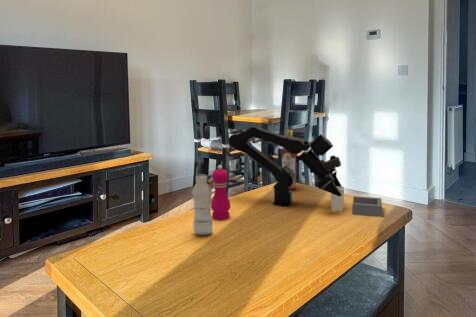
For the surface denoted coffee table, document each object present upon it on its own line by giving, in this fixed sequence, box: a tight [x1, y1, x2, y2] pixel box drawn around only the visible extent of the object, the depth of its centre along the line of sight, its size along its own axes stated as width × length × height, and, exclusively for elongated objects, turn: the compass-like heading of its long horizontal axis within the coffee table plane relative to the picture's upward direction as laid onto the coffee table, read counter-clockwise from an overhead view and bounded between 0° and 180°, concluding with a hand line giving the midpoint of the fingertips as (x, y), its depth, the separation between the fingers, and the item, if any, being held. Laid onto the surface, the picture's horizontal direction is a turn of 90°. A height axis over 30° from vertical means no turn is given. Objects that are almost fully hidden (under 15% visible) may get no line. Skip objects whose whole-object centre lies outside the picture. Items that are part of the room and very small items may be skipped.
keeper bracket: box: [351, 195, 383, 217], centre depth 152 cm, size 10×11×4 cm
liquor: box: [281, 129, 298, 191], centre depth 181 cm, size 7×7×28 cm
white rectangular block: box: [330, 186, 345, 212], centre depth 155 cm, size 4×4×8 cm
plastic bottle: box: [191, 173, 214, 236], centre depth 129 cm, size 6×7×20 cm
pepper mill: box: [210, 164, 231, 221], centre depth 145 cm, size 7×7×20 cm
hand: (341, 192), depth 154 cm, fingers open, 9 cm apart
